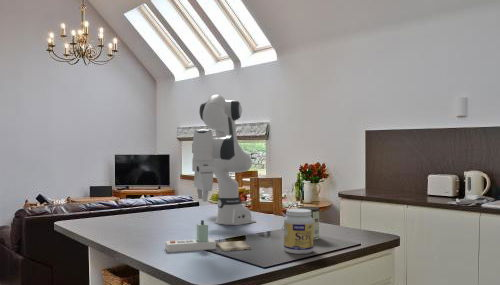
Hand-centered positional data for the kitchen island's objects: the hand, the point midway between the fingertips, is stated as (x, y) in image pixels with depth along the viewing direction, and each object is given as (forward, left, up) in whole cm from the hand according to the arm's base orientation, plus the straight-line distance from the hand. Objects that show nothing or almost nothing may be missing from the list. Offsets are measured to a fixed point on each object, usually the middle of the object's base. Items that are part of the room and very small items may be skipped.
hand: (202, 200), depth 194 cm
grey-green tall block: (0, 0, -20) cm, 20 cm away
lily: (-57, -13, -21) cm, 62 cm away
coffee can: (-52, +8, -21) cm, 56 cm away
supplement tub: (-31, +26, -21) cm, 45 cm away
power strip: (+5, -1, -20) cm, 21 cm away
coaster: (-12, +5, -20) cm, 24 cm away
